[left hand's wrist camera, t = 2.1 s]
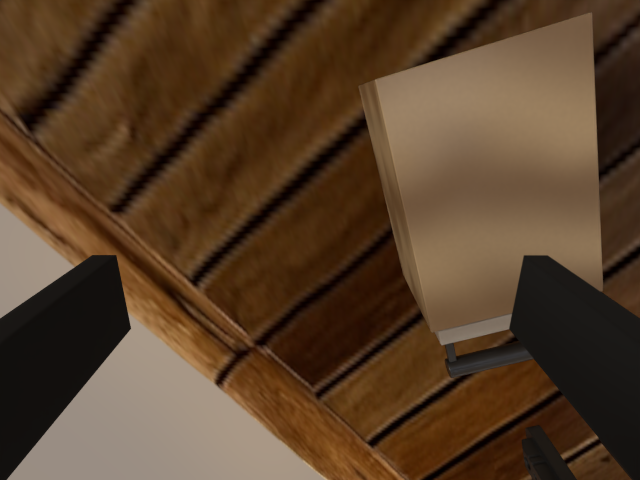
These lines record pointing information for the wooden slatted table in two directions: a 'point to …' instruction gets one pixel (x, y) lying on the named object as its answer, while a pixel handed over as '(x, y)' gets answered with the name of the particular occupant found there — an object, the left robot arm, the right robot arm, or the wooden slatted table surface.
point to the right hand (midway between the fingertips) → (568, 430)
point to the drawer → (483, 357)
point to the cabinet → (490, 168)
